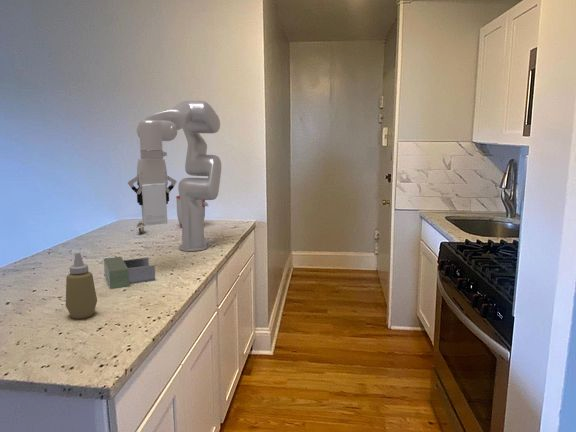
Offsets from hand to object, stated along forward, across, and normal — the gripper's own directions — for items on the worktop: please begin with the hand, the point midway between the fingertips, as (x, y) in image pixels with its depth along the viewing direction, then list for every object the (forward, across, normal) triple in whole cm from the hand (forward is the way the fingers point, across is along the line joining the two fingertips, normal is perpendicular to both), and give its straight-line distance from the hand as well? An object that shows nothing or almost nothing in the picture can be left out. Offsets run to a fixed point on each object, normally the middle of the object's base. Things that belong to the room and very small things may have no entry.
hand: (153, 204), depth 161 cm
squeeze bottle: (+26, +27, +31) cm, 49 cm away
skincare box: (+7, 0, 0) cm, 7 cm away
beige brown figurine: (+25, -8, -69) cm, 74 cm away
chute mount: (+26, +10, +3) cm, 28 cm away
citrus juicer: (+25, -36, -74) cm, 86 cm away
